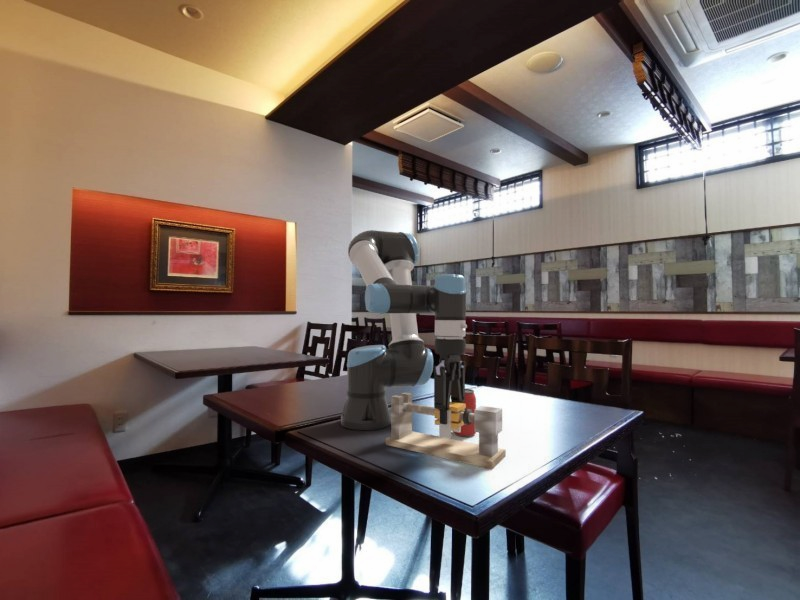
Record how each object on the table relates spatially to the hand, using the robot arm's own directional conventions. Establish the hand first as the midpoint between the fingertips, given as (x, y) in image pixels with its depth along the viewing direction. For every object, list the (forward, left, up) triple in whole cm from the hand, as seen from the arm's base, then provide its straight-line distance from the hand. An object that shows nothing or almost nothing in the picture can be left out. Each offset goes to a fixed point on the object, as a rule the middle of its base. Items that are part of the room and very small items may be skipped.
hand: (450, 433), depth 93 cm
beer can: (-3, +15, -4) cm, 16 cm away
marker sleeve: (0, 0, +2) cm, 2 cm away
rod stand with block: (-2, 0, -4) cm, 5 cm away
